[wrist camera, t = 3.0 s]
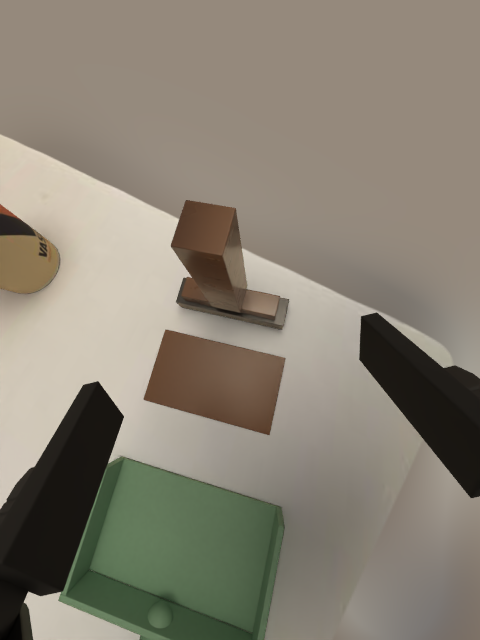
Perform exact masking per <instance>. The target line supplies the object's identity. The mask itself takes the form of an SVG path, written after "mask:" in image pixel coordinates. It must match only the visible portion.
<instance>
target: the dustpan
mask: <svg viewBox="0 0 480 640" xmlns="http://www.w3.org/2000/svg"><path fill="white" fill-rule="evenodd" d="M283 533H284V522H283V515H282V509H281V507H279V506H275V505H272V504H269V503H266V502H263V501H260V500H257V499H253V498H250V497H247V496H244V495H241V494H238V493H235V492H231V491H228V490H225V489H222V488H219V487H216V486H213V485H210V484H206V483H203V482H200V481H197V480H194V479H191V478H188V477H184V476H181V475H178V474H175V473H172V472H169V471H166V470H162V469H159V468H156V467H153V466H150V465H147V464H144V463H141V462H137V461H134V460H131V459H128V458H125V457H122V456H121V457H120V458H118V459H116V460H114V461H113V462H111V463H109V464H107V467H106V470H105V473H104V476H103V479H102V481H101V484H100V487H99V490H98V493H97V496H96V499H95V502H94V504H93V507H92V510H91V513H90V516H89V519H88V522H87V525H86V527H85V530H84V533H83V536H82V539H81V542H80V545H79V548H78V550H77V553H76V556H75V559H74V562H73V565H72V568H71V570H70V573H69V576H68V579H67V582H66V585H65V588H64V591H61V594H60V597H59V600H58V601H60V602H62V603H65V604H67V605H70V606H72V607H74V608H77V609H79V610H82V611H84V612H86V613H89V614H91V615H94V616H96V617H98V618H101V619H103V620H106V621H108V622H110V623H113V624H115V625H117V626H120V627H122V628H125V629H127V630H129V631H132V632H134V633H137V634H139V635H141V636H140V640H264V637H265V631H266V626H267V620H268V615H269V609H270V604H271V598H272V593H273V587H274V582H275V576H276V571H277V565H278V560H279V555H280V549H281V544H282V538H283ZM89 569H90V570H92V571H90V570H89ZM93 571H95V572H93ZM96 572H97V573H96ZM98 573H100V574H98ZM101 574H103V575H105V576H103V575H101ZM106 576H108V577H110V578H108V577H106ZM111 578H113V579H115V580H113V579H111ZM116 580H118V581H116ZM119 581H120V582H119ZM121 582H123V583H121ZM124 583H125V584H124ZM126 584H128V585H126ZM129 585H131V586H133V587H131V586H129ZM134 587H136V588H138V589H136V588H134ZM139 589H141V590H143V591H141V590H139ZM144 591H146V592H144ZM147 592H148V593H147ZM149 593H151V594H149ZM152 594H154V595H156V596H154V595H152ZM157 596H159V597H161V598H159V597H157ZM162 598H164V599H166V600H164V599H162ZM167 600H169V601H167ZM170 601H171V602H170ZM172 602H174V603H172ZM175 603H177V604H179V605H177V604H175ZM180 605H182V606H184V607H182V606H180ZM185 607H187V608H189V609H187V608H185ZM190 609H192V610H194V611H192V610H190ZM195 611H197V612H195ZM198 612H200V613H202V614H200V613H198ZM203 614H205V615H207V616H205V615H203ZM208 616H210V617H212V618H210V617H208ZM213 618H215V619H217V620H215V619H213ZM218 620H220V621H218ZM221 621H222V622H221ZM223 622H225V623H223ZM226 623H228V624H230V625H228V624H226ZM231 625H233V626H235V627H233V626H231ZM236 627H238V628H240V629H238V628H236ZM241 629H243V630H245V631H243V630H241ZM246 631H248V632H246ZM249 632H251V633H252V634H251V633H249Z"/></svg>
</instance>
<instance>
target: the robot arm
mask: <svg viewBox="0 0 480 640" xmlns="http://www.w3.org/2000/svg"><path fill="white" fill-rule="evenodd" d="M359 360H360V361H361V362H362V363H363V365H364V366H365V367H366V368H367V370H368V371H369V372H370V373H371V375H372V376H373V377H374V378H375V379H376V381H377V382H378V383H379V384H380V386H381V387H382V388H383V389H384V391H385V392H386V393H387V394H388V396H389V397H390V398H391V399H392V401H393V402H394V403H395V404H396V406H397V407H398V408H399V409H400V411H401V412H402V413H403V414H404V416H405V417H406V418H407V419H408V421H409V422H410V423H411V424H412V425H413V427H414V428H415V429H416V430H417V432H418V433H419V434H420V435H421V437H422V438H423V439H424V440H425V442H426V443H427V444H428V445H429V447H430V448H431V449H432V450H433V452H434V453H435V454H436V455H437V457H438V458H439V459H440V460H441V461H442V463H443V464H444V465H445V467H446V468H447V469H448V470H449V471H450V473H451V474H452V475H453V476H454V478H455V479H456V480H457V481H458V483H459V484H460V485H461V486H462V488H463V489H464V490H465V491H466V493H467V494H468V495H469V496H470V497H471V498H474V497H479V496H480V379H479V378H478V377H477V376H475V375H474V374H473V373H470V372H468V371H466V370H464V369H462V368H460V367H457V366H451V367H447V368H443V367H441V366H440V365H439V364H438V363H437V362H435V361H434V360H433V359H432V358H431V357H429V356H428V355H427V354H426V353H425V352H424V351H422V350H421V349H420V348H419V347H418V346H416V345H415V344H414V343H413V342H412V341H410V340H409V339H408V338H407V337H406V336H404V335H403V334H402V333H401V332H400V331H398V330H397V329H396V328H395V327H394V326H392V325H391V324H390V323H389V322H388V321H386V320H385V319H384V318H383V317H382V316H380V315H379V314H378V313H373V314H369V315H365V316H361V333H360V358H359ZM123 418H124V416H123V414H122V413H121V412H120V410H119V409H118V408H117V406H116V405H115V404H114V402H113V401H112V399H111V398H110V397H109V395H108V394H107V393H106V391H105V390H104V389H103V387H102V386H101V384H100V383H99V382H93V383H89V384H85V385H83V386H82V388H81V390H80V391H79V393H78V395H77V396H76V398H75V400H74V402H73V403H72V405H71V407H70V408H69V410H68V412H67V413H66V415H65V417H64V418H63V420H62V422H61V424H60V425H59V427H58V429H57V430H56V432H55V434H54V435H53V437H52V439H51V440H50V442H49V444H48V445H47V447H46V449H45V451H44V452H43V454H42V456H41V457H40V459H39V461H38V462H37V464H36V466H35V467H33V468H30V469H29V470H28V471H27V472H26V474H25V475H24V476H23V477H22V478H21V479H20V480H19V481H18V482H17V484H16V485H15V487H14V488H13V490H12V492H11V493H10V495H9V497H8V498H7V502H6V503H4V505H3V506H2V508H1V509H0V640H33V636H32V629H31V622H30V615H29V609H28V607H27V605H26V604H25V603H23V602H24V600H25V598H26V595H27V593H28V591H29V592H31V593H34V594H36V595H39V596H44V595H48V594H53V593H57V592H61V591H64V588H65V585H66V582H67V579H68V576H69V573H70V570H71V568H72V565H73V562H74V559H75V556H76V553H77V550H78V548H79V545H80V542H81V539H82V536H83V533H84V530H85V527H86V525H87V522H88V519H89V516H90V513H91V510H92V507H93V504H94V502H95V499H96V496H97V493H98V490H99V487H100V484H101V481H102V479H103V476H104V473H105V470H106V467H107V464H108V461H109V458H110V456H111V453H112V450H113V447H114V444H115V441H116V438H117V435H118V433H119V430H120V427H121V424H122V421H123Z"/></svg>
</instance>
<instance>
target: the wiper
mask: <svg viewBox="0 0 480 640" xmlns="http://www.w3.org/2000/svg"><path fill="white" fill-rule="evenodd" d="M171 247H172V249H173V250H174V252H175V253H176V255H177V256H178V257H179V259H180V260H181V262H182V263H183V265H184V266H185V268H186V269H187V271H188V272H189V274H190V275H191V277H192V278H189V277H187V278H183V281H182V284H181V287H180V291H179V294H178V297H177V300H176V303H177V304H179V305H180V306H181V307H183V308H187V309H192V310H196V311H201V312H205V313H210V314H214V315H219V316H223V317H228V318H232V319H236V320H241V321H245V322H250V323H254V324H259V325H263V326H268V327H272V328H277V329H281V330H282V328H283V326H284V321H285V317H286V312H287V307H288V303H289V299H285V298H280V296H276V295H272V294H267V293H262V292H257V291H252V290H247V289H246V288H247V281H246V275H245V268H244V261H243V254H242V247H241V241H240V234H239V227H238V220H237V214H236V208H232V207H225V206H219V205H213V204H207V203H201V202H195V201H189V200H186V201H185V204H184V207H183V210H182V213H181V216H180V219H179V222H178V225H177V228H176V231H175V234H174V237H173V240H172V243H171Z"/></svg>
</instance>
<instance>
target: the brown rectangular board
mask: <svg viewBox="0 0 480 640" xmlns="http://www.w3.org/2000/svg"><path fill="white" fill-rule="evenodd" d="M284 362H285V358H283V357H278V356H274V355H270V354H266V353H262V352H257V351H253V350H249V349H245V348H241V347H236V346H232V345H228V344H224V343H220V342H216V341H211V340H207V339H203V338H199V337H195V336H190V335H186V334H182V333H178V332H174V331H170V330H165V333H164V336H163V339H162V342H161V345H160V349H159V352H158V355H157V358H156V361H155V365H154V368H153V371H152V374H151V377H150V381H149V384H148V387H147V390H146V393H145V396H144V400H147V401H150V402H154V403H157V404H161V405H164V406H168V407H171V408H175V409H179V410H182V411H186V412H189V413H193V414H196V415H200V416H203V417H207V418H210V419H214V420H218V421H221V422H225V423H228V424H232V425H235V426H239V427H242V428H246V429H249V430H253V431H257V432H260V433H264V434H267V435H270V430H271V425H272V420H273V415H274V411H275V406H276V401H277V396H278V391H279V386H280V382H281V377H282V372H283V367H284Z"/></svg>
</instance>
